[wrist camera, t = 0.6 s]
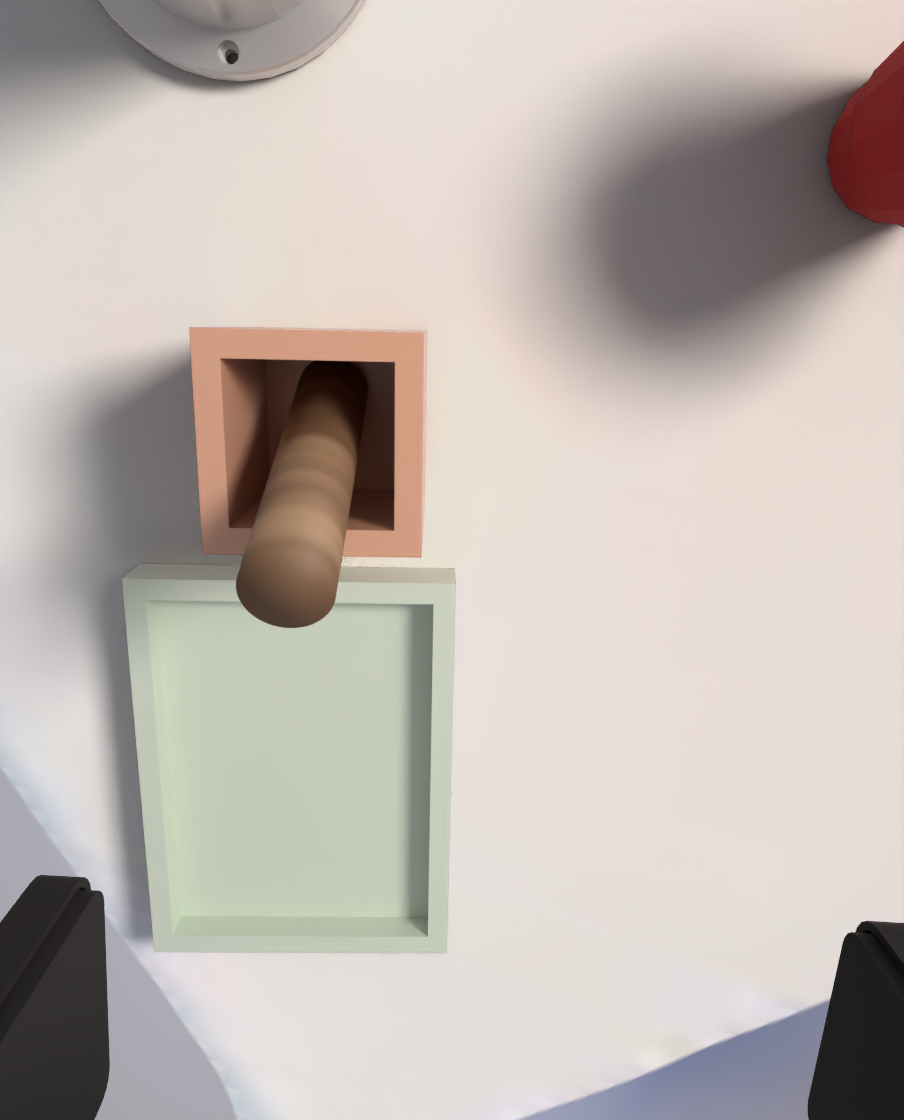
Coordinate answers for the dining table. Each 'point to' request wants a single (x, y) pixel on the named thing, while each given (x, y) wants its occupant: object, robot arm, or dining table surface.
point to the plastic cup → (872, 145)
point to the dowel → (306, 501)
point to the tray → (294, 762)
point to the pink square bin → (260, 416)
